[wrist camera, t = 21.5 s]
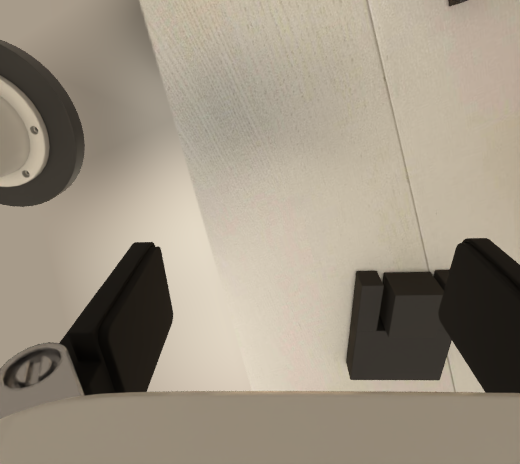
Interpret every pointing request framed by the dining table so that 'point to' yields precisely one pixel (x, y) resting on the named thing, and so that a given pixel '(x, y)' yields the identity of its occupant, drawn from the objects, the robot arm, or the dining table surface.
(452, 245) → the dining table surface
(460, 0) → the picture frame
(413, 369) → the forked base block
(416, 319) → the dark grey square block
